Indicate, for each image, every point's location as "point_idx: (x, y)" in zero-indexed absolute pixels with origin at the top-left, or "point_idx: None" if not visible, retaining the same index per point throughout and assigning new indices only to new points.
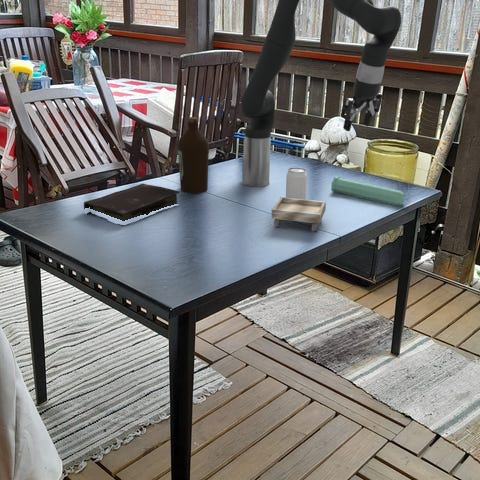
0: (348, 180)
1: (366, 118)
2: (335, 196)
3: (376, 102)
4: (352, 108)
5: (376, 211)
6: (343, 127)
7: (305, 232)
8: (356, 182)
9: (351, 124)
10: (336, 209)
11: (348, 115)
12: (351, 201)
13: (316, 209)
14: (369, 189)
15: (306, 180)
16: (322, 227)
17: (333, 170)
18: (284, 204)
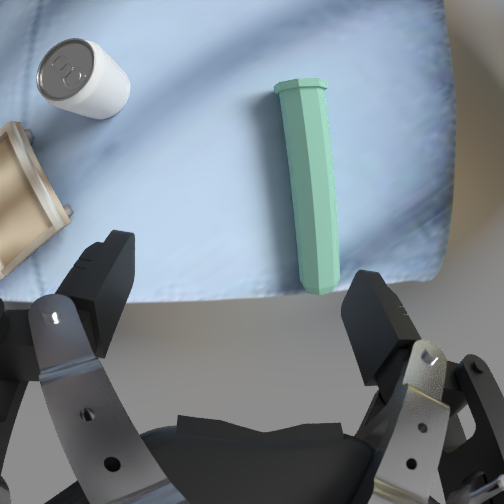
0: (315, 122)
1: (370, 323)
2: (254, 115)
3: (457, 470)
4: (115, 412)
5: (227, 267)
6: (93, 244)
7: None
8: (316, 151)
9: (114, 326)
10: (159, 186)
11: (8, 395)
12: (249, 173)
13: (30, 230)
14: (303, 205)
15: (89, 104)
16: (45, 247)
17: (424, 20)
18: (2, 151)
